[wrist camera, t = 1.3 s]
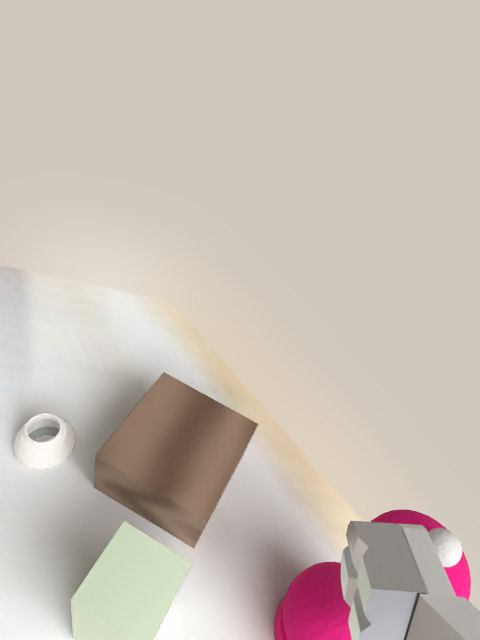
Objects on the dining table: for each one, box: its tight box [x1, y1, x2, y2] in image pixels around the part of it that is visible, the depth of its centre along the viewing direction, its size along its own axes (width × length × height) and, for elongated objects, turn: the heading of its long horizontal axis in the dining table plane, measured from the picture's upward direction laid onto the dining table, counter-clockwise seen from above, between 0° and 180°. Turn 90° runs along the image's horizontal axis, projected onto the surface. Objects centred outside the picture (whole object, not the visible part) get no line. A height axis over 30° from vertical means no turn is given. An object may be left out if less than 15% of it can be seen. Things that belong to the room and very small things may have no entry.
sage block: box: [71, 521, 192, 640], centre depth 30 cm, size 5×5×10 cm
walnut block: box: [94, 373, 258, 548], centre depth 41 cm, size 10×10×6 cm
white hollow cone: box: [14, 413, 75, 469], centre depth 41 cm, size 5×3×5 cm
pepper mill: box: [275, 510, 471, 640], centre depth 29 cm, size 7×7×20 cm
